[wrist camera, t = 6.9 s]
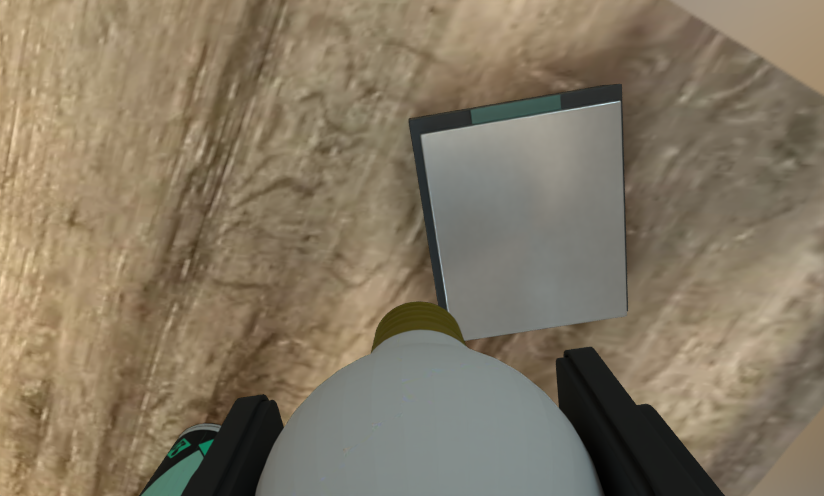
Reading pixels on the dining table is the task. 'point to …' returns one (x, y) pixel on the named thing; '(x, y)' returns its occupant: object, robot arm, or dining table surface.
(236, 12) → the dining table surface
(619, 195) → the scale
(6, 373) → the dining table surface
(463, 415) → the light bulb
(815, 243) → the dining table surface
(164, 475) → the spray can
